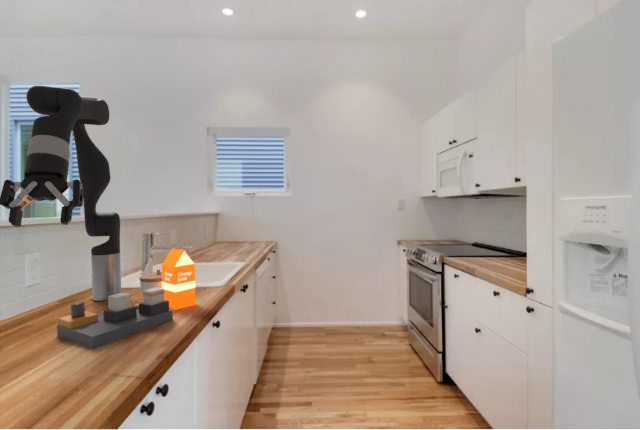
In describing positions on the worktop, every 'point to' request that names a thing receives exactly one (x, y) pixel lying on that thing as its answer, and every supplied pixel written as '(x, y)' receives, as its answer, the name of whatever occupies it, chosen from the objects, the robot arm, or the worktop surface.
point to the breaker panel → (117, 324)
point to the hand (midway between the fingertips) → (40, 224)
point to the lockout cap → (77, 316)
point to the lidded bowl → (151, 280)
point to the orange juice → (178, 279)
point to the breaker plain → (119, 302)
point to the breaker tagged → (153, 296)
